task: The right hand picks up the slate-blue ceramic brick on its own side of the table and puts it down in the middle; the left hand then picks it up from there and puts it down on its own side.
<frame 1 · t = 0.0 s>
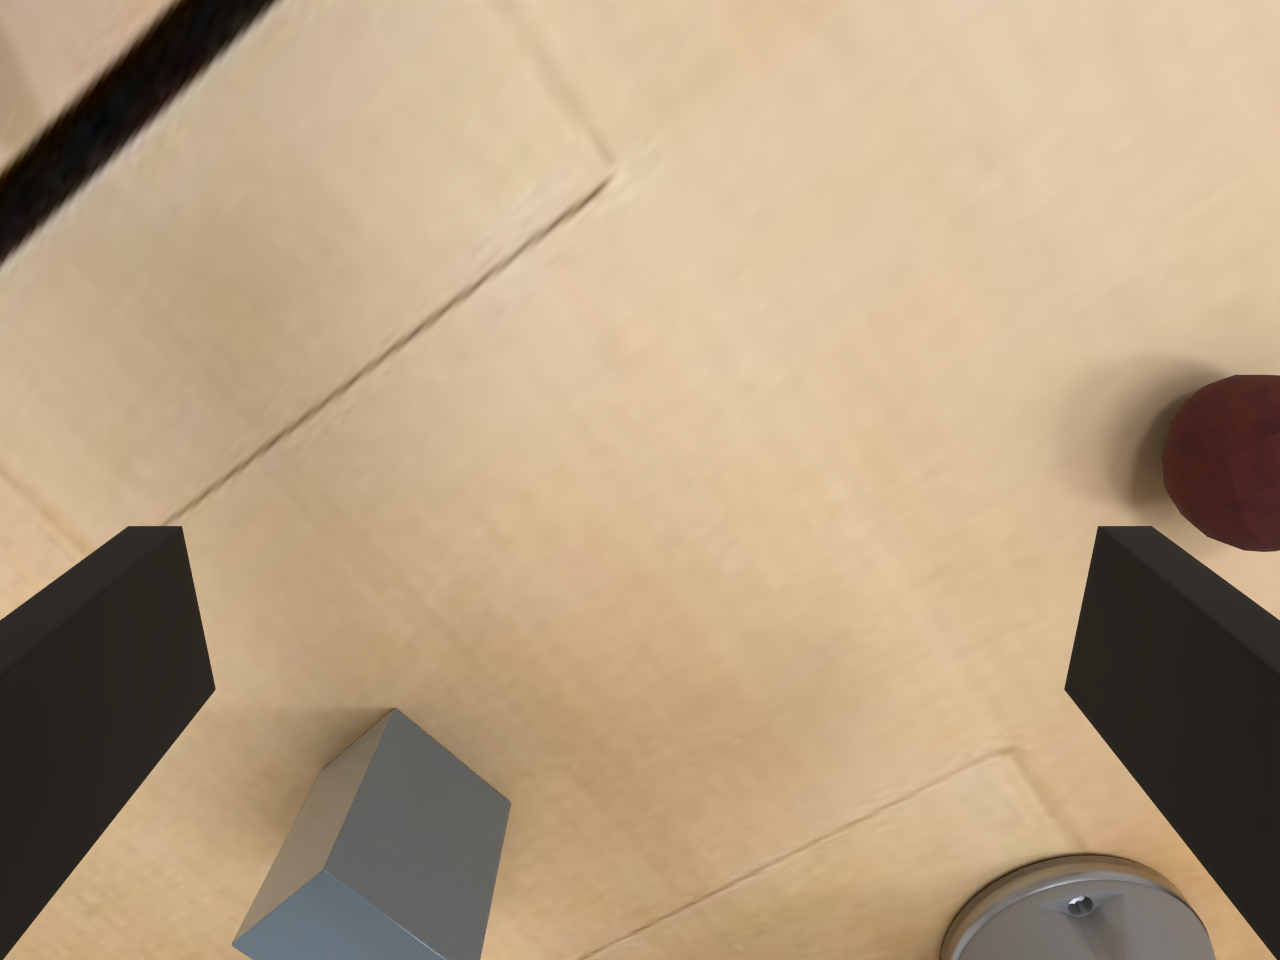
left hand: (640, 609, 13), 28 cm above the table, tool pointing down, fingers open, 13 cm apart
brick: (416, 786, 48), on the table
potato: (1206, 434, 41), on the table
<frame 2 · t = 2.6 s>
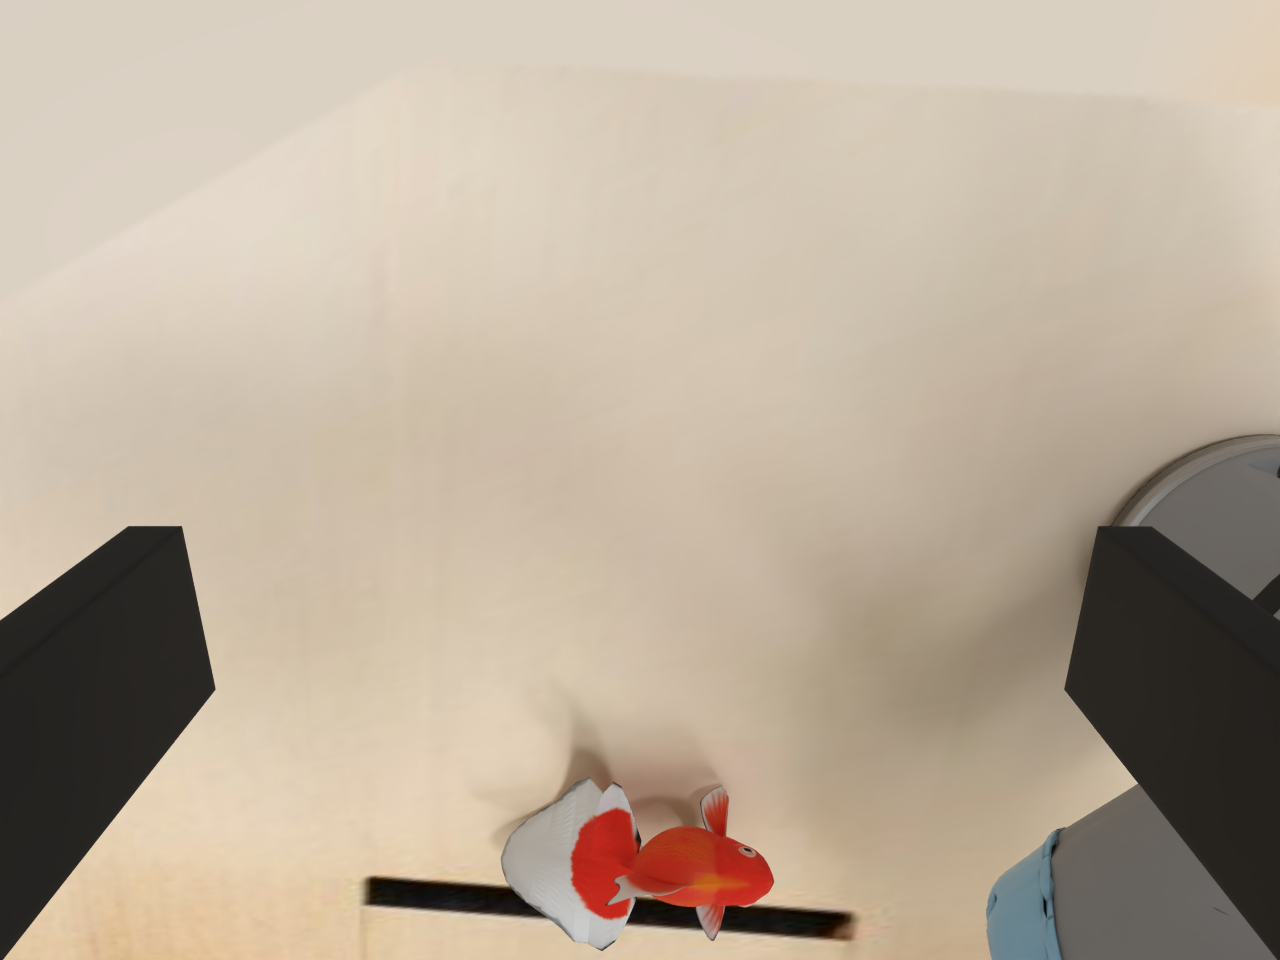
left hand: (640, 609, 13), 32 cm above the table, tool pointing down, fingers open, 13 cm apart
fish: (632, 816, 54), on the table
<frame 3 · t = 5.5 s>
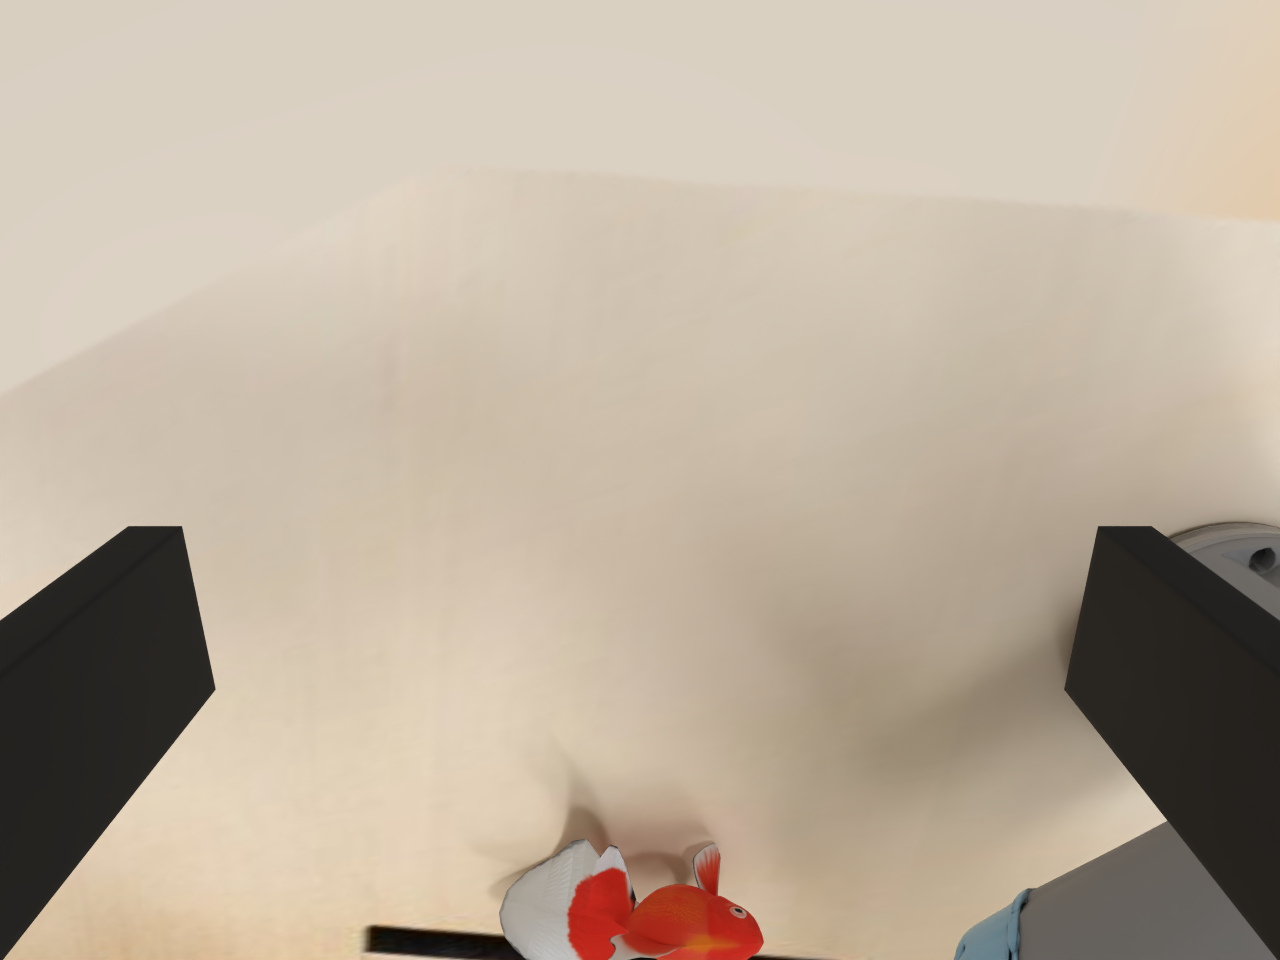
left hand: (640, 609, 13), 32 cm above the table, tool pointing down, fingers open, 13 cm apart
fish: (626, 870, 56), on the table
when the right hand's fingers open (4 cm above the table, at t = 8.4 s): brick drops 1 cm, on the table.
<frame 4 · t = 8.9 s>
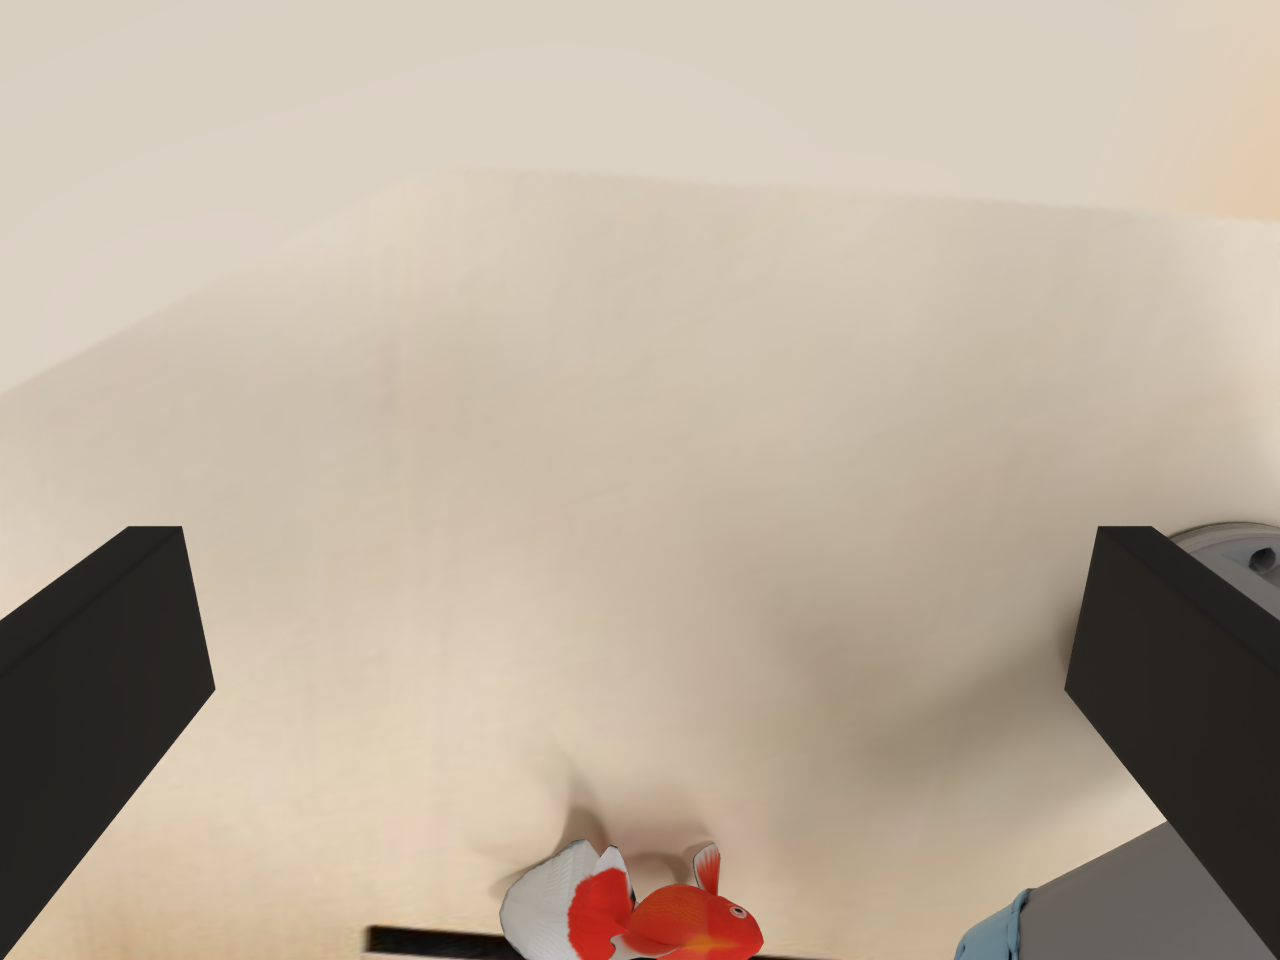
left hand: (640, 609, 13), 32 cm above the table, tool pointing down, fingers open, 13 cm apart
fish: (626, 870, 56), on the table
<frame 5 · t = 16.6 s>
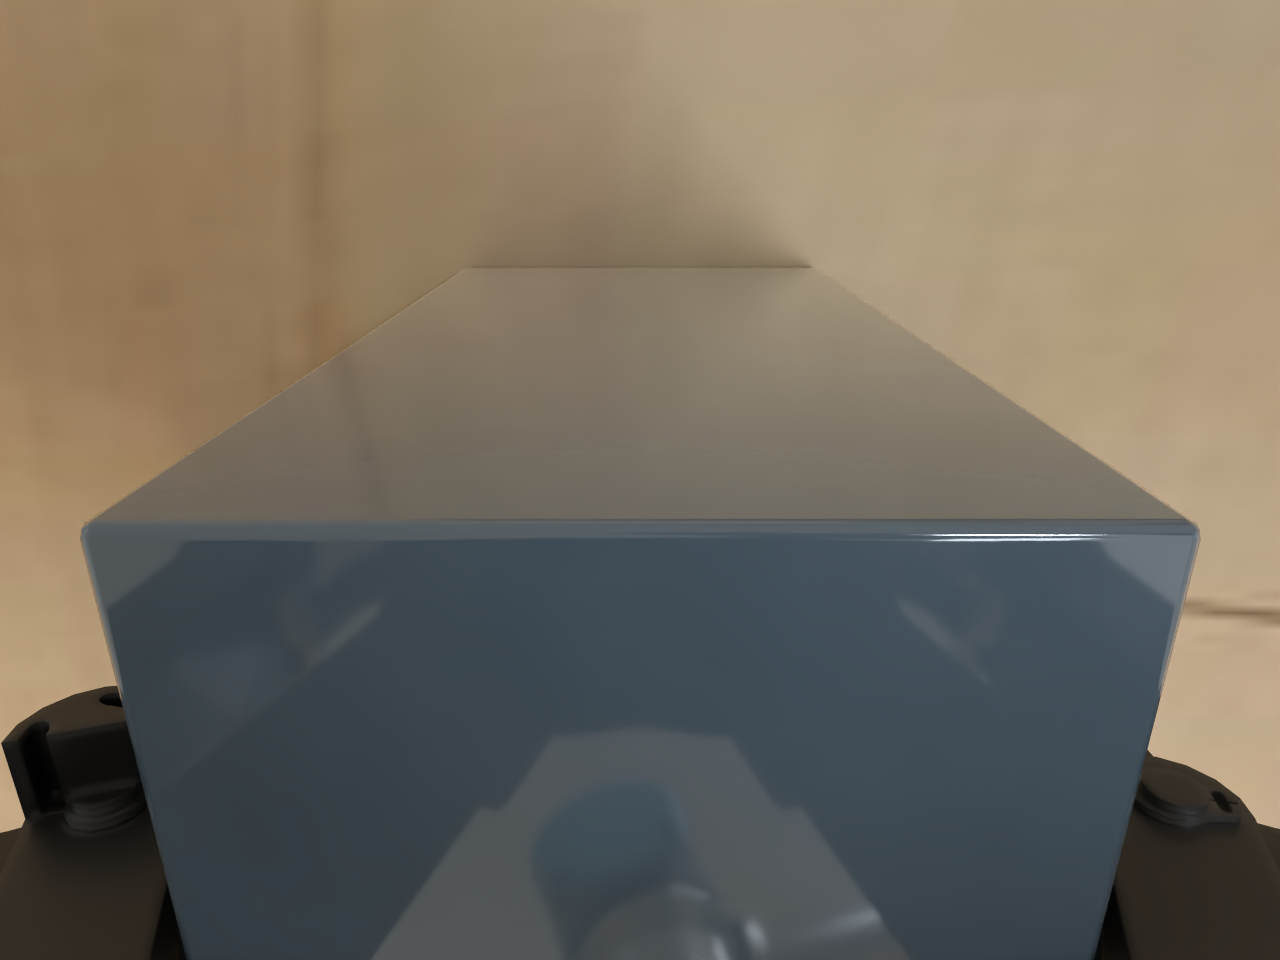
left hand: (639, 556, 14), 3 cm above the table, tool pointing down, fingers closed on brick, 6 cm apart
brick: (640, 496, 17), on the table, touching left hand
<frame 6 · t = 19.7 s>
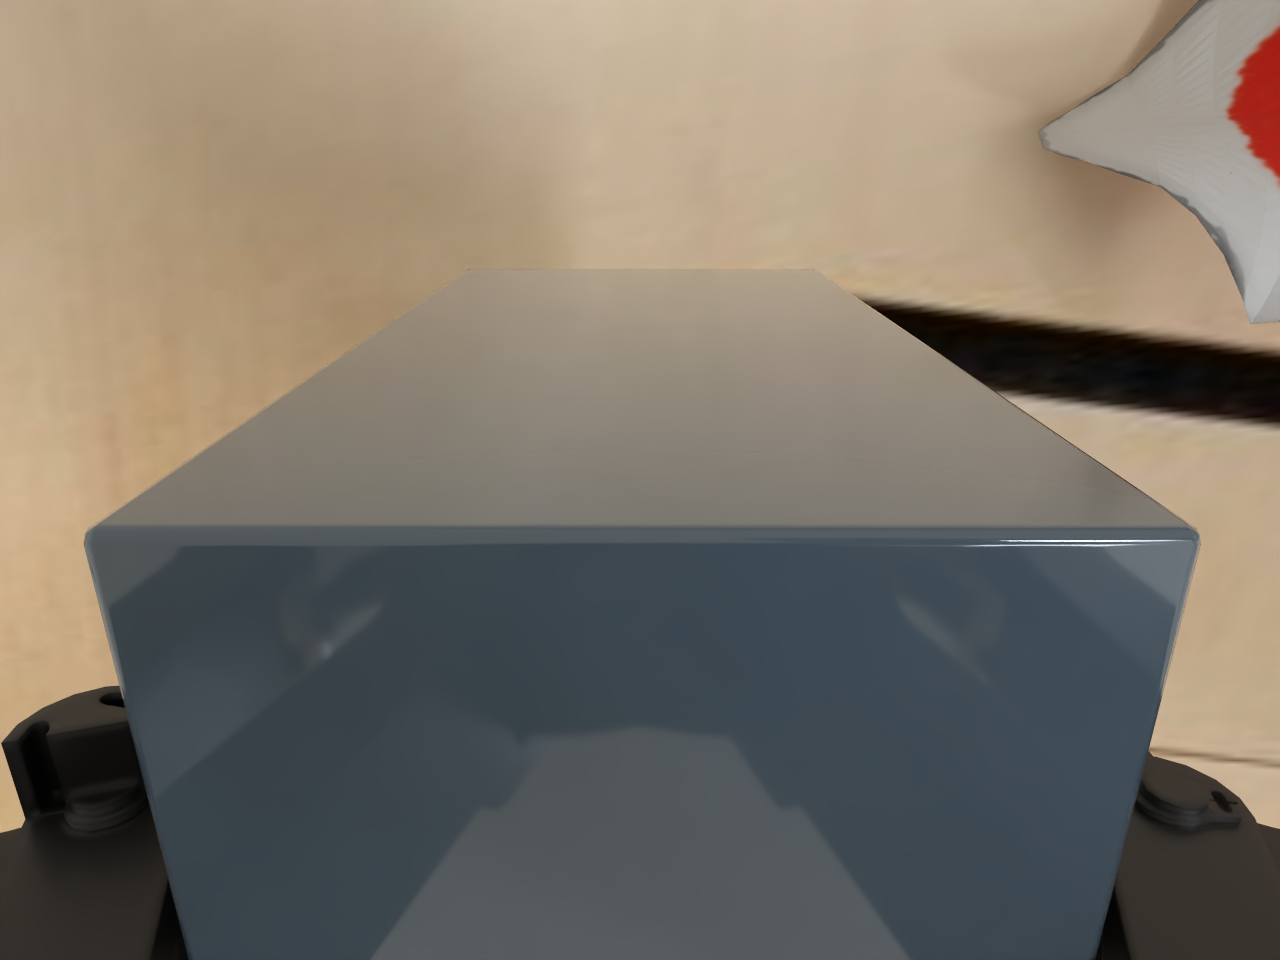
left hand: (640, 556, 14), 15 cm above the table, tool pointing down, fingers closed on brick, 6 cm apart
brick: (640, 498, 17), point 12 cm above the table, touching left hand
fish: (1274, 126, 26), on the table
when the left hand's fingers open (4 cm above the table, at t = 23.2 s): brick drops 1 cm, on the table.
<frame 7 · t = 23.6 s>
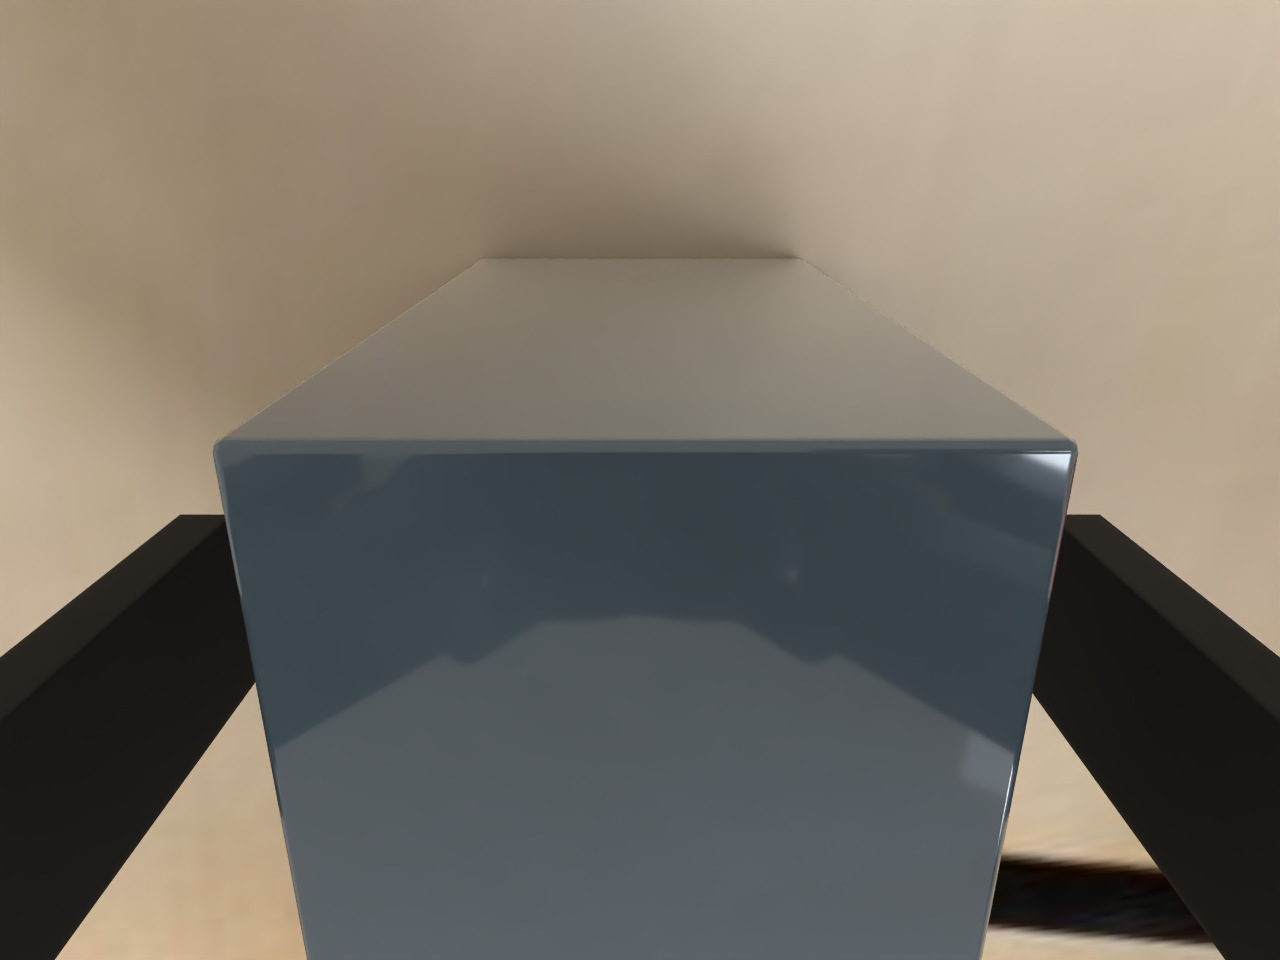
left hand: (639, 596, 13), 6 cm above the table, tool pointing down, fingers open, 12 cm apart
brick: (641, 470, 18), on the table
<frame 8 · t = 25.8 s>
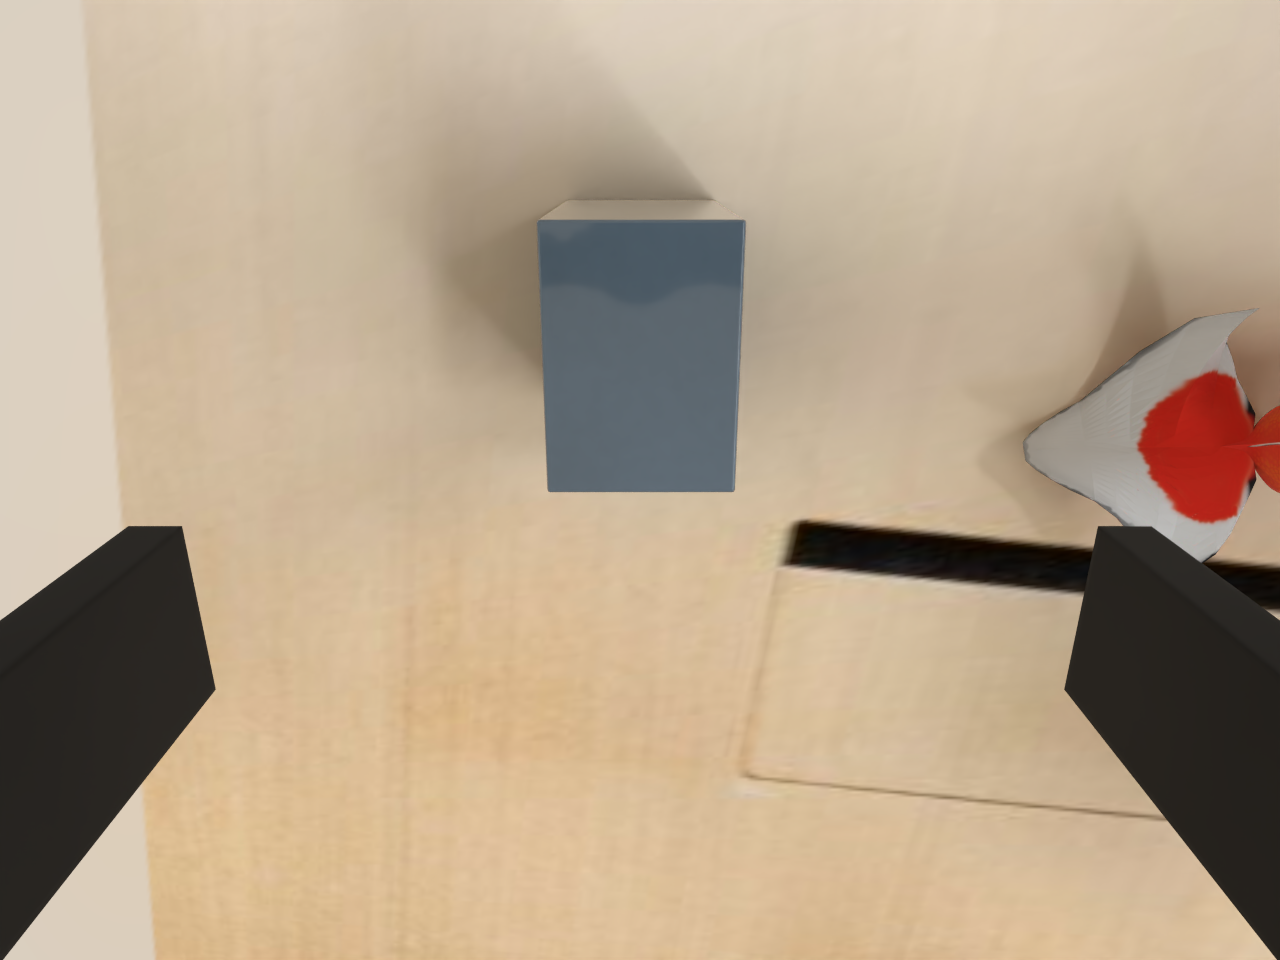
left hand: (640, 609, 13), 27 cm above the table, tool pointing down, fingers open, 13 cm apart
brick: (640, 304, 38), on the table
fish: (1175, 426, 40), on the table
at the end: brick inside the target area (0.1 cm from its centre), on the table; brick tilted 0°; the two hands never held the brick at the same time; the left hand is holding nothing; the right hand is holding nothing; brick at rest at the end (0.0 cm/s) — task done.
